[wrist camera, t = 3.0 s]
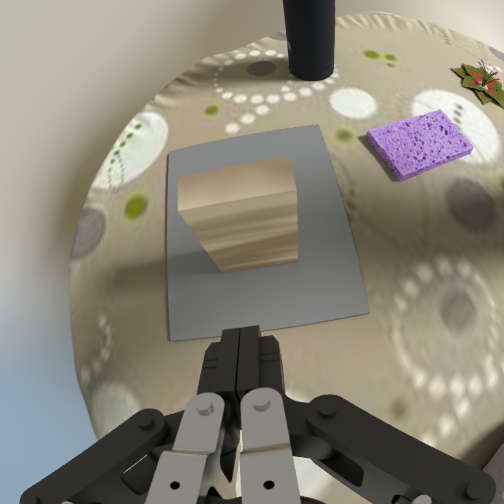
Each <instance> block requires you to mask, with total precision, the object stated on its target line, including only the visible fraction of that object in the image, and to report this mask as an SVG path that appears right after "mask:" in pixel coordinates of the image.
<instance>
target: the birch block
mask: <svg viewBox="0 0 504 504" xmlns="http://www.w3.org/2000/svg"><path fill="white" fill-rule="evenodd" d="M178 212H179V214H180V215H181V217H182V218H183V219H184V221H185V222H186V224H187V225H188V226H189V228H190V229H191V231H192V232H193V233H194V235H195V236H196V238H197V239H198V240H199V242H200V243H201V245H202V246H203V247H204V249H205V250H206V252H207V253H208V254H209V256H210V257H211V258H212V260H213V261H214V263H215V264H216V265H217V267H218V268H219V269H220V271H221V272H222V273H223V274H225V273H231V272H238V271H244V270H251V269H257V268H264V267H270V266H277V265H283V264H289V263H295V262H298V215H297V189H296V185H295V180H294V176H293V171H292V167H291V163H290V158H289V157H283V158H276V159H270V160H264V161H258V162H252V163H246V164H241V165H235V166H230V167H225V168H220V169H215V170H210V171H205V172H200V173H195V174H191V175H186V176H181V177H178Z"/></svg>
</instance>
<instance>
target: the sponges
mask: <svg viewBox="0 0 504 504" xmlns="http://www.w3.org/2000/svg"><path fill="white" fill-rule="evenodd" d="M367 136H368V137H369V139H368V141H369V142H370V144H371V145H372V146H373V147H374V148H375V150H376V151H377V152H378V153H379V155H380V156H381V157H382V158H383V159H384V161H385V162H387V163H388V166H389V167H390V169H391V170H392V171H393V173H394V174H395V176H396V177H397V178H398V180H399V181H400V182H401V181H403V180H405V179H407V178H410V177H413V176H414V175H418V174H419V173H422V172H425V171H427V170H429V169H432V168H435V167H437V166H440V165H442V164H445V163H448V162H449V161H452V160H455V159H458V158H461V157H463V156H466V155H468V154H470V153H471V151H472V149H473V148H474V146H473V145H472V144H471V143H470V142H469V141H468V139H467V138H466V137H465V136H464V134H463V133H460V132H459V129H458V128H457V127H456V126H455V124H453V123H452V122H451V120H450V119H449V118H448V117H447V115H446V114H445V113H443V111H442V110H441V109H440V110H437V111H434V112H430V113H427V114H425V115H424V116H422V115H420V116H415V117H412V118H408V119H405V120H401V121H398V122H395V123H391V124H388V125H385V126H381V127H378V128H374V129H371V130H368V132H367Z"/></svg>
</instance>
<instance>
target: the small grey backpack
mask: <svg viewBox="0 0 504 504" xmlns="http://www.w3.org/2000/svg"><path fill="white" fill-rule="evenodd" d="M482 471H484V472H486V473H488V474H489V475H491V476H492V477H493V479H494V481H495V483H496V494H495V497H494V499H493V501H492V502H491V504H504V443H503V444H502V445H501V446H500V448H499V449H498V450H497V452H496V453H495V455H494V456H493V457H492V459H491V460H490V461H489V463H488V464H487V465H486V466H485V467H484V468H483V470H482Z"/></svg>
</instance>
